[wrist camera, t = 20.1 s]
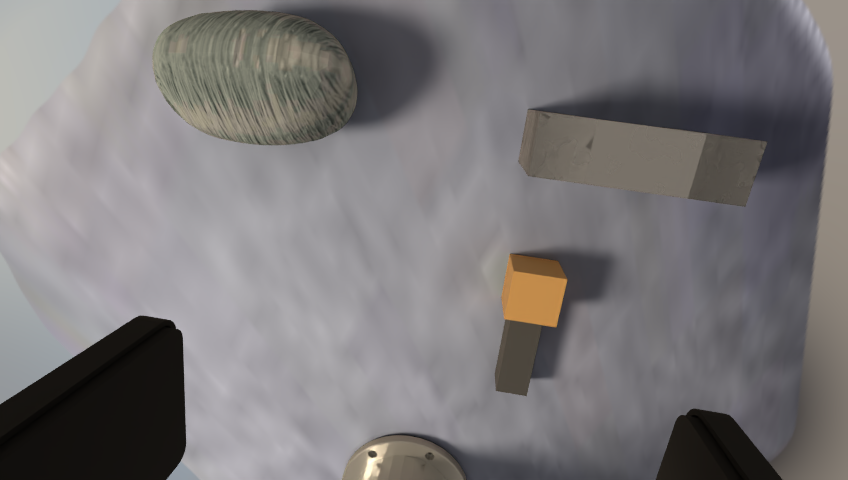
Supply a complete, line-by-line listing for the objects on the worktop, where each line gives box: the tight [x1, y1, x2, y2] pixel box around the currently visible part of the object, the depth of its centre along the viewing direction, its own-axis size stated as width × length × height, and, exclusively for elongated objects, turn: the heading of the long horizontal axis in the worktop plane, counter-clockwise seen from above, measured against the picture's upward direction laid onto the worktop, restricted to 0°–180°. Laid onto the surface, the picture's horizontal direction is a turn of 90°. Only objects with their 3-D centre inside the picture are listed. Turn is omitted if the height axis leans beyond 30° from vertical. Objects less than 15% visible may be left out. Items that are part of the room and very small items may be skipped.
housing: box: [518, 109, 767, 207], centre depth 32 cm, size 4×14×7 cm, turn 83°
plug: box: [495, 254, 567, 396], centre depth 39 cm, size 12×4×4 cm, turn 173°
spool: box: [153, 10, 357, 145], centre depth 33 cm, size 14×10×10 cm
